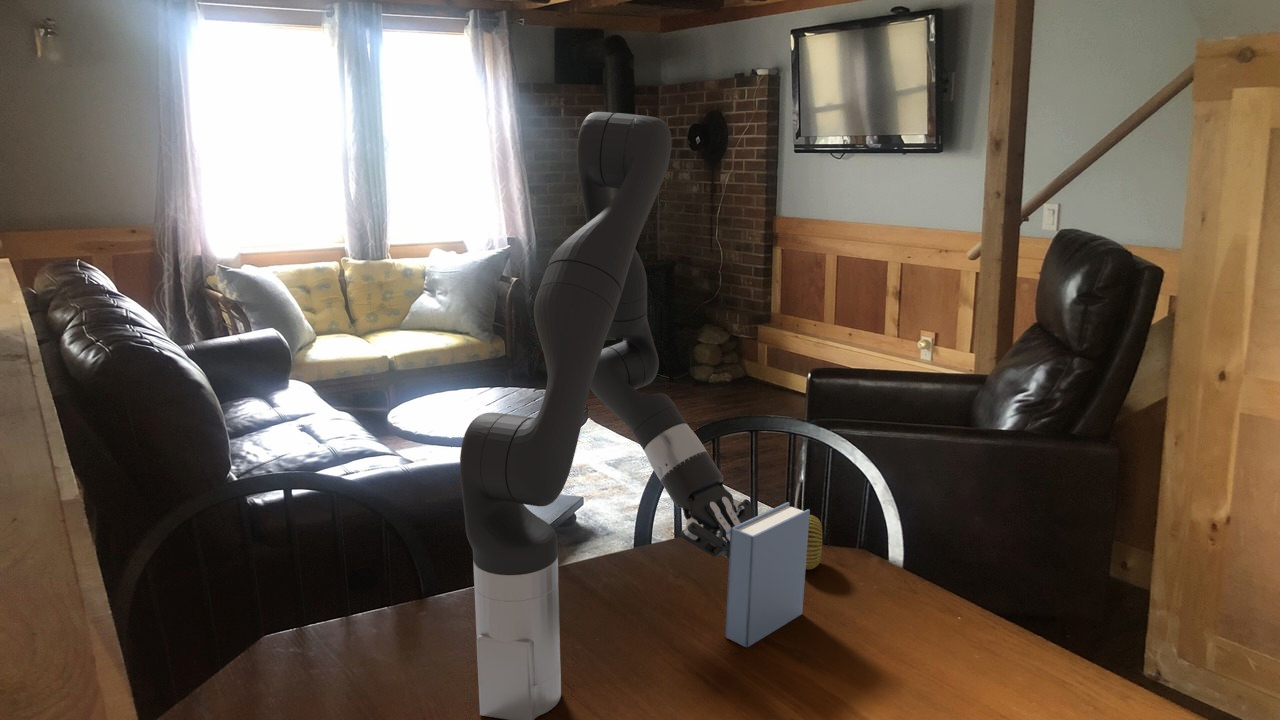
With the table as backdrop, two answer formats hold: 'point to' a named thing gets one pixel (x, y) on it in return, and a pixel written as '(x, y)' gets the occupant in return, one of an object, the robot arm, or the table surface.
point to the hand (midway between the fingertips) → (752, 575)
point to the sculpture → (814, 542)
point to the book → (766, 573)
